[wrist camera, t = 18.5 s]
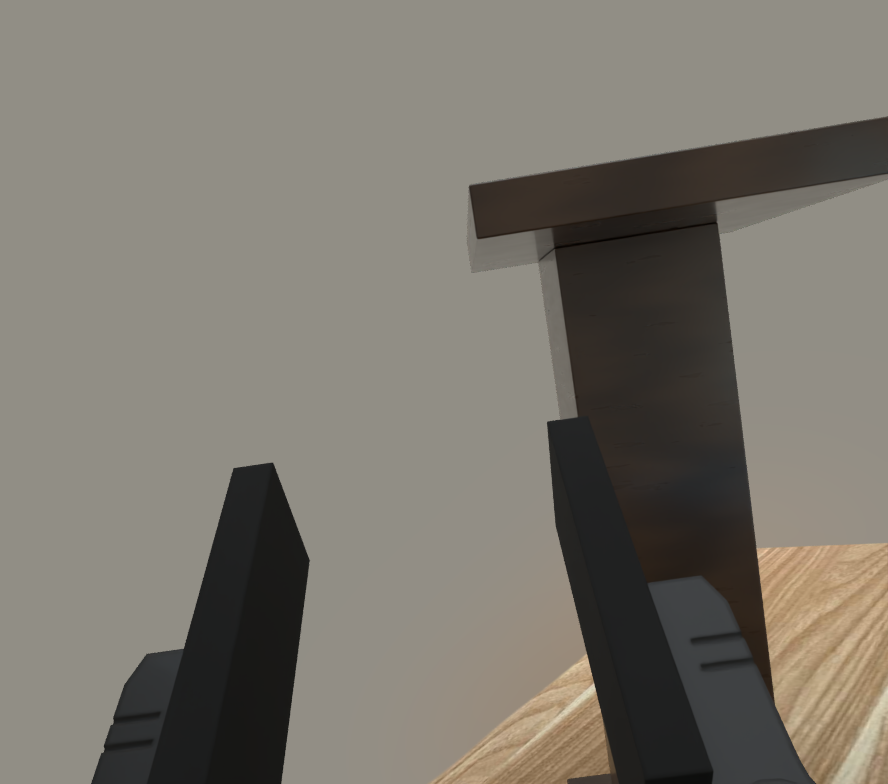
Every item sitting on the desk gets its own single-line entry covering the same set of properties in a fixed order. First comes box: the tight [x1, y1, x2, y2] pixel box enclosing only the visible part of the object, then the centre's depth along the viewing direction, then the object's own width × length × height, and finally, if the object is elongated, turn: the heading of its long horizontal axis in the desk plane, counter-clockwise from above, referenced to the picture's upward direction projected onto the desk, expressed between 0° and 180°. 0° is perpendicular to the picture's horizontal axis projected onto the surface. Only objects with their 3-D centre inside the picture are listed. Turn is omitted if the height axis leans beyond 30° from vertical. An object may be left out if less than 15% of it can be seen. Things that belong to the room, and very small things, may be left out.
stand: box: [467, 116, 888, 784], centre depth 28 cm, size 12×15×28 cm
